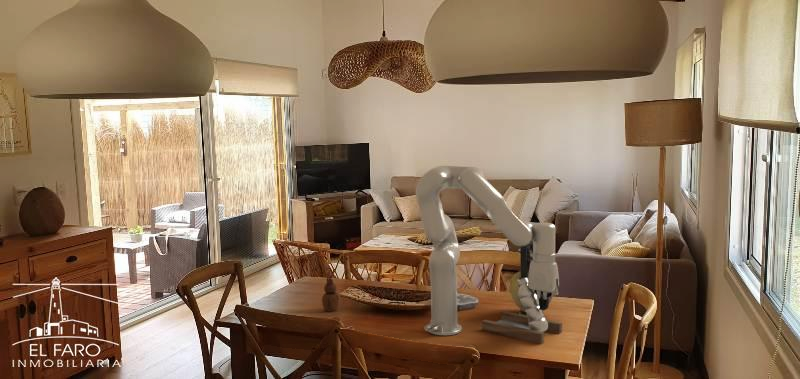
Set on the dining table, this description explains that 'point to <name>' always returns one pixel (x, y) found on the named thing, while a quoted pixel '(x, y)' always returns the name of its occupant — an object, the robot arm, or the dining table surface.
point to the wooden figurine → (330, 296)
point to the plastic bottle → (531, 307)
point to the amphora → (522, 275)
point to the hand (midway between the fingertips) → (543, 309)
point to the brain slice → (466, 302)
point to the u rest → (519, 327)
